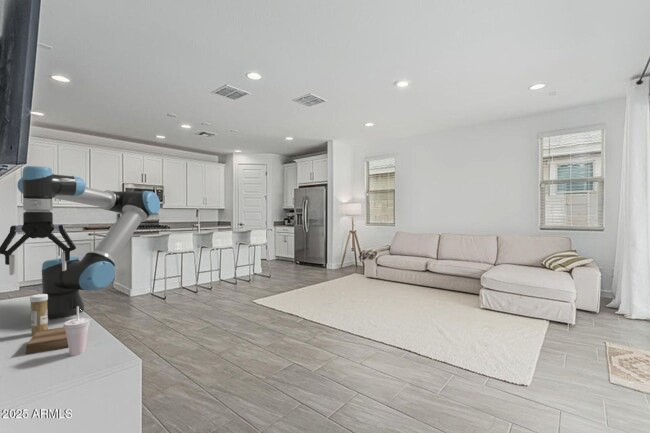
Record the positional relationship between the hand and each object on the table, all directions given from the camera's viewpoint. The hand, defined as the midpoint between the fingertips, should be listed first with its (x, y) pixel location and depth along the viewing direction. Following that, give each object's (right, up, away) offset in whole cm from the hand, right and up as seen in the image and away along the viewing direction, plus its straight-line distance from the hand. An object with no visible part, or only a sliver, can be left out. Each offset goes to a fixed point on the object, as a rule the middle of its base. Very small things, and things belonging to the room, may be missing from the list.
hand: (39, 272), depth 109 cm
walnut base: (+12, -22, -7) cm, 26 cm away
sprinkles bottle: (0, -22, +1) cm, 22 cm away
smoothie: (+25, -22, -14) cm, 36 cm away
